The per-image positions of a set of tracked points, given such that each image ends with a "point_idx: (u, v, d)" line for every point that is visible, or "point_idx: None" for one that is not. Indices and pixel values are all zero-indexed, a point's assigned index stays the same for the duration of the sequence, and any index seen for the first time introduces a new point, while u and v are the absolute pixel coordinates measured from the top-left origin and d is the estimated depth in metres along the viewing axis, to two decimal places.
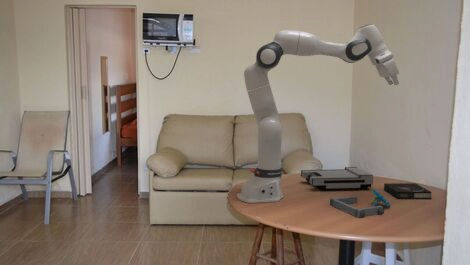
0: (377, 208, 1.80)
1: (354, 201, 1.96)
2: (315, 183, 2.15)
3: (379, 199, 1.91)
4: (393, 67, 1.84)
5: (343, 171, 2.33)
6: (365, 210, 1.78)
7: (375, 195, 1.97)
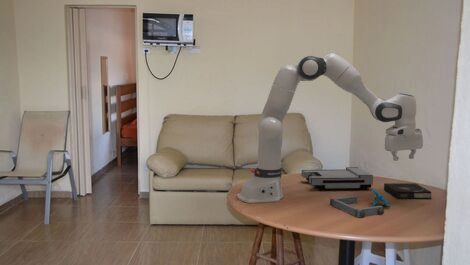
0: (377, 208, 1.80)
1: (354, 201, 1.96)
2: (314, 183, 2.15)
3: (378, 199, 1.91)
4: (388, 143, 1.89)
5: (344, 171, 2.32)
6: (365, 210, 1.78)
7: (375, 195, 1.97)
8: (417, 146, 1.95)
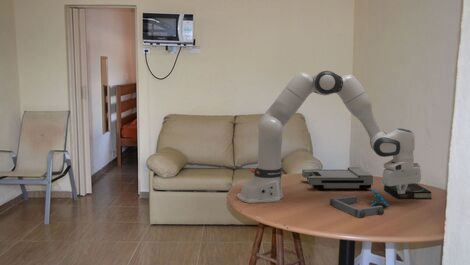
0: (377, 208, 1.80)
1: (354, 201, 1.96)
2: (312, 182, 2.16)
3: (378, 199, 1.91)
4: (386, 178, 1.91)
5: (345, 171, 2.32)
6: (365, 210, 1.78)
7: (375, 195, 1.97)
8: (415, 180, 1.97)
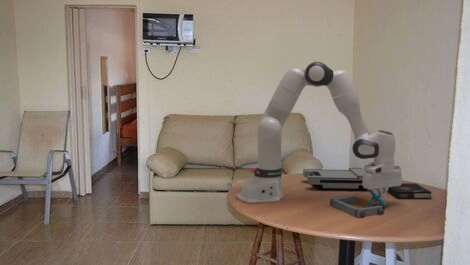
0: (377, 208, 1.80)
1: (354, 201, 1.96)
2: (311, 182, 2.17)
3: (375, 199, 1.90)
4: (366, 181, 1.87)
5: (346, 171, 2.31)
6: (365, 210, 1.78)
7: (372, 195, 1.97)
8: (396, 183, 1.93)
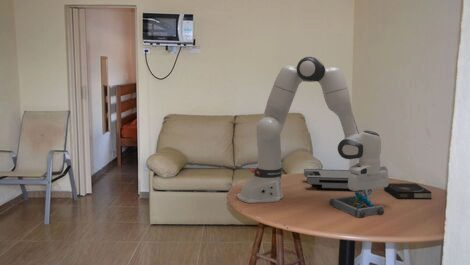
0: (377, 208, 1.80)
1: (354, 201, 1.96)
2: (310, 182, 2.17)
3: (363, 201, 1.87)
4: (351, 182, 1.84)
5: (346, 172, 2.31)
6: (365, 210, 1.78)
7: None
8: (382, 184, 1.89)
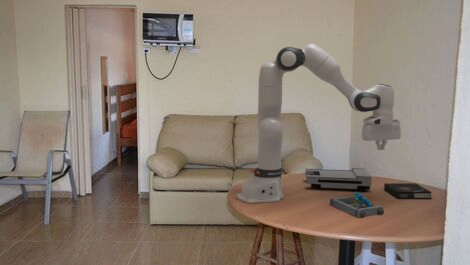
0: (377, 208, 1.80)
1: (354, 201, 1.96)
2: (309, 181, 2.18)
3: (362, 202, 1.87)
4: (365, 132, 1.91)
5: (347, 172, 2.31)
6: (365, 210, 1.78)
7: (356, 197, 1.93)
8: (395, 136, 1.97)
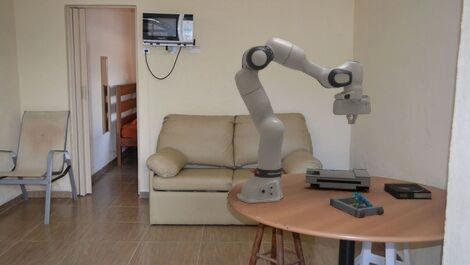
0: (377, 208, 1.80)
1: (354, 201, 1.96)
2: (308, 181, 2.19)
3: (362, 202, 1.87)
4: (336, 107, 2.00)
5: (348, 172, 2.30)
6: (365, 210, 1.78)
7: None
8: (365, 111, 2.06)
